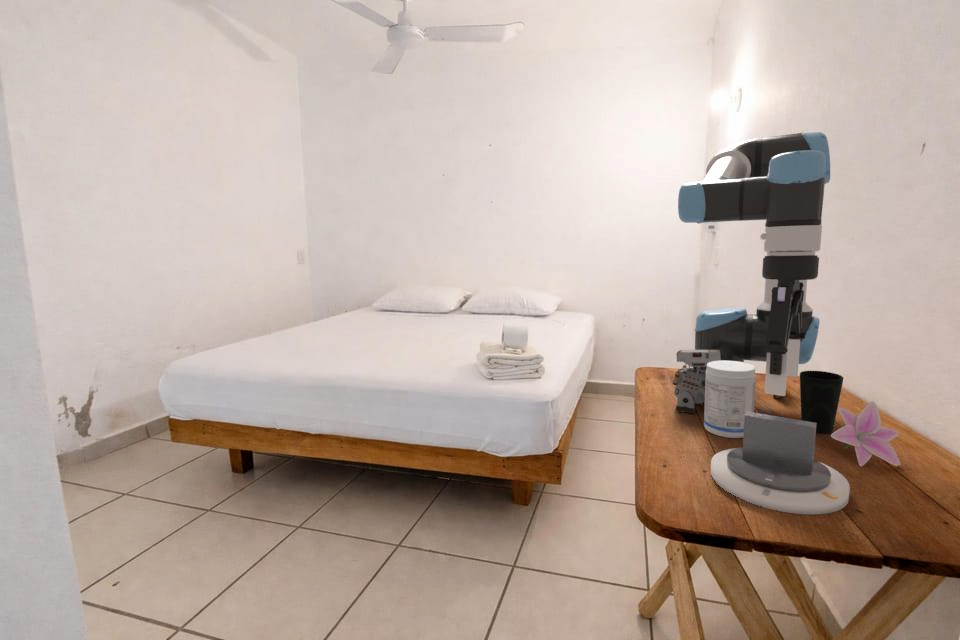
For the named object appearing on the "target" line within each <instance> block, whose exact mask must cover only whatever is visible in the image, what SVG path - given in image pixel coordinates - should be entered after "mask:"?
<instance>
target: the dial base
mask: <svg viewBox="0 0 960 640" xmlns="http://www.w3.org/2000/svg"><path fill="white" fill-rule="evenodd" d="M737 448H738V447H735V448H734V447H733V448H728V449H724V450H721V451H719V452H717V453H715V454H714V455H713V456H712V457H711V461H710V476H711V475H712V477H713V479H714V480H715V481H716V483H717V484H718V485H719V486H720V487H721V488H720V487H719V486H718V485H717V484H716V483H715V484H716V485H717V486H718V487H719V488H720V489H722V488H723V489H724V490H725V492H726V491H727V492H726V493H728V492H729V493H731V494H732V495H731V494H730V495H731V496H733V495H734V496H733V497H735V496H736V497H735V498H737V497H739V498H740V499H739V498H738V499H739V500H741V499H743V500H745V501H744V502H746V501H747V502H746V503H749V502H750V503H749V504H751V503H752V505H754V504H755V506H757V505H758V506H757V507H760V506H762V507H761V508H764V509H768V510H772V511H776V510H777V512H782V513H787V514H789V513H790V514H796V515H811V516H812V515H825V514H826V515H827V514H831V513H835V512H838V511H840V510H842V509H844V508H845V507H846V506H847V505H848V503H849V501H850V492H851V491H850V489H851V488H850V483H849V481H848V480H847V478H846V477H845V476H844V475H843V474H842V473H841V472H839V471H837V470H836V469H834V468H833V467H831V466H829V465H827V464H826V463H823V462H820V461H818V460H817V461H818V462H820V463H822V464H823V465H824V466H826V467H827V468H828V469H829V471H830V473H831V481H830V484H829V485H828V486H827V487H826V488H824V489H821V490H818V491H811V492H793V491H784V490H778V489H773V488H769V487H765V486H761V485H758V484H755V483H753V482H750V481H748V480H746V479H743V478H742V477H740V476H738V475H737V474H735V473H734V472H733V471H731V470H730V468H729V467H728V465H727V455H728V453H729V452H730V451H732V450H734V449H737ZM712 477H711V478H712ZM713 479H712V480H713ZM714 480H713V481H714ZM723 489H722V490H723ZM724 490H723V491H724ZM729 493H728V494H729ZM743 500H742V501H743Z"/></svg>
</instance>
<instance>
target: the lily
mask: <svg viewBox="0 0 960 640" xmlns="http://www.w3.org/2000/svg"><path fill="white" fill-rule="evenodd" d="M837 411H838V412H839V414H840V417H841V418H842V420H843V422H844V424H845V425H843V426H841V427H840V428H838V429H837V430H835V431H833V432H832V433H830V434H831V435H830V437H831V438H832V439H834V440H835V441H838V442H841V443H844V444H847V445H846V446H845V447H844V448H843V449H844V450H847V449H848V448H849V446H854V450H855V455H856V458H857V462H858V465H859V466H860V467H863V466H864V465H866V464H867V463H868V462H869V461H870V459H871V457H872V456H873V455H874V456H876V457H878V458H880V459H881V460H884V461H885V462H887V463H889V464H891V465H892V466H895V467H897V465H901V461H900V459H899V458H898V455H897V453H896V451H895V450H894V448H893V446H892V445H891V443H889V442H890V441H892V440H893V439H895V438H897V437H898V436H899V434H900V433H899V432H898V431H897V430H894V429H892V428H889V427H887V426H882V418H881V414H880V412H879V408H878V405H877V404H876V403H875V401H872V400H871V401H870V402H868V403H867V405H865V407H864V408H863V409H862V410H861V411H860V413H859V414H858V415H856V414H854V413H853V412H851V411H850V410H847V409H845V408H843V407H841V406H838V408H837Z"/></svg>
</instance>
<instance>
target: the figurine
mask: <svg viewBox="0 0 960 640" xmlns="http://www.w3.org/2000/svg"><path fill="white" fill-rule="evenodd" d="M721 359H722V355H721V354H720V350H716V349H715V350H695V349H679V350H678V351H677V352H676V362H677V363H684V365H682V368H680V369H678V370H676V371H675V374H674V379H673V382H672V385H673V386H675V387H674V392H673V395H674V396H675V397H676V398H677V402H676V406H675V410H676V411H677V412H678V411H680V412H681V411H683V412H682V413H684V412H686V413H687V412H688V413H687V414H691V413H692V415H693V414H695V413H696V407H695V406H696V405H695V404H697V405H698V404H699V405H698V406H701V405H703V403H704V404H705V378H706V372H705V371H703V368H704V367H707V363H709V362H712V361H721Z"/></svg>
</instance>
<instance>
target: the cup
mask: <svg viewBox="0 0 960 640" xmlns="http://www.w3.org/2000/svg"><path fill="white" fill-rule="evenodd" d="M843 382H844V376H842V375H841V374H838V373H834V372H830V371H824V370H823V371H822V370H804V371H800V372H799V388H800V389H799V392H800V415H801V418H800V420H802V421H808V422H814V423H817V424H816V434H819V435H821V434H822V435H830V434H832V433H833V432H834V426H835V422H836V417H837V414H838V413H837V412H838V407H839V403H840V399H841V398H840V397H841V393H842V388H843Z"/></svg>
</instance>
